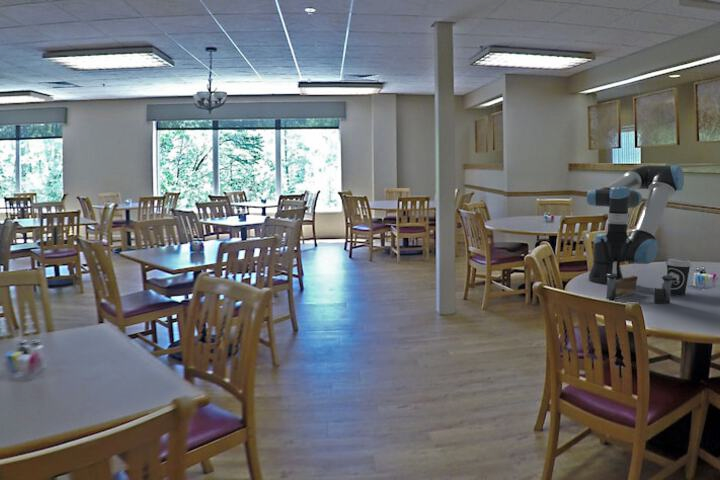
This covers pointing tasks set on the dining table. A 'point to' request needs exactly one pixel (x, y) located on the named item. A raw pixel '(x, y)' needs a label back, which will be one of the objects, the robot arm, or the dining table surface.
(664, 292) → the post
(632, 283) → the brown wooden board
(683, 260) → the coffee cup
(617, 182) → the robot arm
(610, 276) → the hinge post
